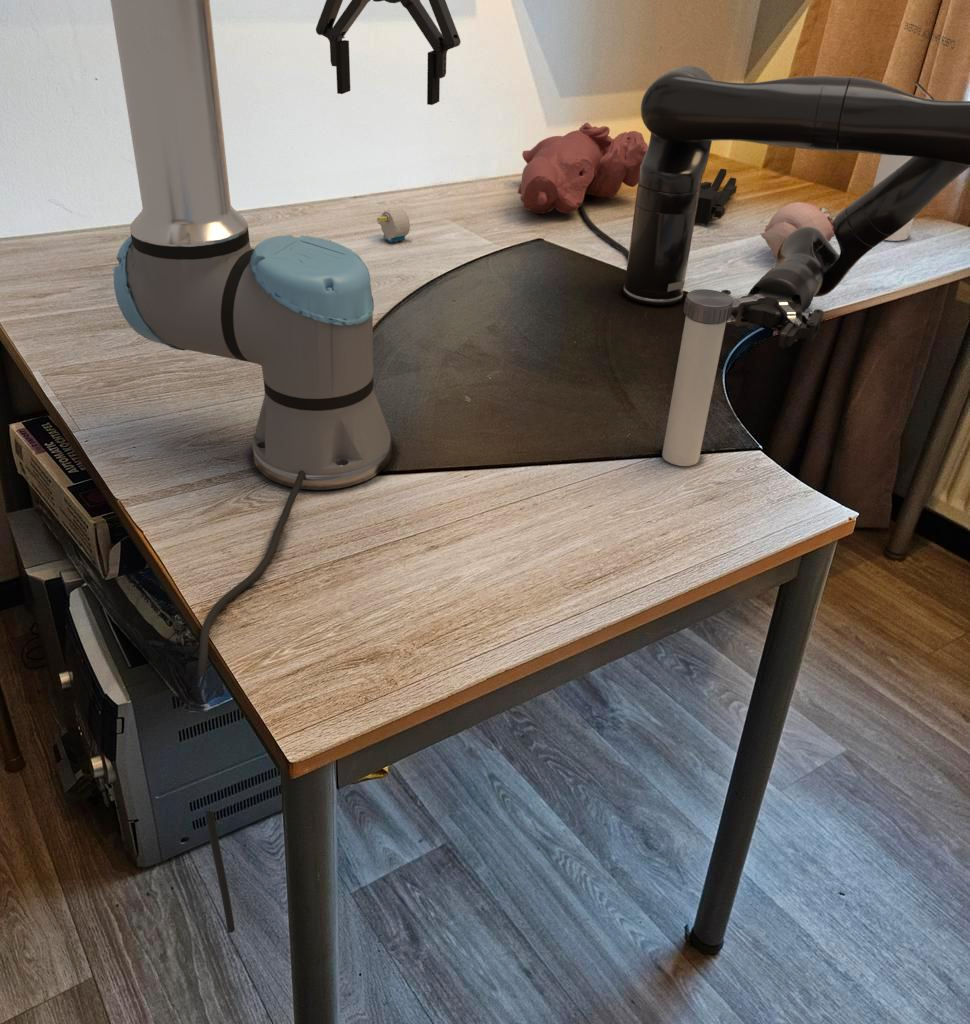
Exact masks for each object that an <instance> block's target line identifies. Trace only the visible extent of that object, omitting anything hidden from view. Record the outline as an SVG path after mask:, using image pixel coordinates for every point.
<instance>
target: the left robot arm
mask: <svg viewBox="0 0 970 1024" xmlns="http://www.w3.org/2000/svg"><path fill="white" fill-rule="evenodd" d="M343 1H344V0H325V3H324V5H323V8H322V11H321V13H320V16H319V19H318V22H317V24H316V27H315V33H316V34H317V35H318V36H323V37H324V38H326V39H327V40H328V42H329V54H330V56H329V57H330V65H331V67H335V70H336V71H335V72H336V94H339V95H343V94H346V93H349V92H351V67H350V66H351V63H350V41H349V40H345V38H346V36H345V35H347V33H348V31H349V30H350V29H351V27H352V26H353V24H354V23H355V21H356V20H357V19H358V18H359V16H360V14H361V13H362V12H363V10H364V9H365V8H366V6H367V5H368V4H369V3H370V2H371V1H372V2H377V3H380V2H384V1H385V2H387V3H389V4H398V3H400V4H401V5H402V7H403V8H405V9H406V10H407V12H408V13H409V15H410V17H411V18H412V20H413V21H414V22H415V24H416V26H417V27H418V29H419V31H420V32H421V33H422V35H423V36H424V38H425V39H426V40H427V43H428V44H429V46H430V47H431V48H432V50H431V51H428V52H427V74H426V75H427V79H426V80H427V85H426V87H427V88H426V105H429V106H433V105H435V104H438V103H440V93H441V92H440V91H441V90H440V89H441V87H440V86H441V83H440V81H441V79H443V78H445V77H446V74H447V54H448V51H449V50H451V49H454V48H457V47H459V46H460V45H461V42H462V41H461V38H460V35H459V33H458V30H457V27H456V24H455V22H454V19H453V17H452V14H451V11H450V9H449V7H448V4H447V1H446V0H428V2H429V5H430V8H431V10H432V13H433V15H434V18H435V21H436V23H437V25H438V26H437V25H436V23H435V22H434V20H433V19H432V17H431V15H429V13H428V11H427V9H426V8H425V6H424V5H423V3H422V2H421V0H351V1H350V2H349V3H348V5H347V6H346V8H345V9H344V11H343V12H342V14H341V15H340V16H339V18H338V19H337V17H338V14H339V12H340V9H341V6H342V4H343ZM110 6H111V12H112V19H113V20H112V21H113V27H114V31H115V39H116V45H117V52H118V59H119V64H120V70H121V77H122V84H123V90H124V96H125V97H124V98H125V103H126V110H127V116H128V122H129V123H128V124H129V129H130V136H131V142H132V149H133V156H134V161H135V169H136V175H137V180H138V187H139V194H140V199H141V206H142V210H141V211H140V212H139V214H138V215H137V216H136V217H135V218H134V220H133V221H132V222H131V224H130V225H129V232H130V236H128V237H127V238H126V239H125V240H124V241H123V243H122V244H121V246H120V247H119V249H118V252H117V256H116V260H117V261H118V265H117V266H114V268H113V288H114V294H115V298H116V302H117V305H118V307H119V310H120V312H121V315H122V316H123V318H124V319H125V321H126V323H127V324H128V325H129V327H130V328H131V329H133V331H134V332H136V333H137V334H138V335H139V336H141V337H143V338H144V339H145V340H148V341H150V342H154V343H157V344H161V345H164V346H167V347H169V348H171V349H174V350H178V351H191V352H197V353H202V354H207V355H211V356H216V357H222V358H226V359H231V360H236V361H242V362H248V363H251V364H252V363H253V364H257V365H259V366H261V370H262V379H263V388H264V390H263V391H264V396H263V400H262V404H261V408H260V412H259V415H258V419H257V423H256V427H255V430H254V434H253V438H252V455H253V460H254V464H255V467H256V468H257V470H258V471H259V472H260V473H261V474H262V475H263V476H265V477H266V478H268V479H269V480H271V481H273V482H275V483H278V484H280V485H283V486H286V487H290V488H291V490H290V493H289V495H288V498H287V500H286V503H285V505H284V507H283V509H282V512H281V515H280V517H279V519H278V521H277V524H276V526H275V529H274V531H273V534H272V537H271V541H270V543H269V546H268V548H267V551H266V553H265V555H264V557H263V558H262V560H261V561H260V562H259V564H258V565H257V567H256V568H255V569H254V570H253V571H252V572H251V573H250V574H249V575H248V576H247V577H245V578H244V579H243V580H242V581H241V582H239V583H238V584H237V585H235V586H234V587H233V588H232V589H230V590H229V591H228V592H226V593H225V594H224V595H222V597H220V599H218V601H216V602H215V604H214V605H213V607H211V609H210V610H209V612H208V614H207V615H206V618H205V619H204V622H203V624H202V626H201V631H200V633H199V634H200V635H199V648H198V650H199V651H198V660H197V668H196V669H197V670H196V676H197V677H198V678H203V677H205V676H206V674H207V668H208V659H209V658H208V657H209V644H210V643H209V642H210V632H211V628H212V626H213V624H214V622H215V619H216V618H217V617H218V615H219V613H220V612H221V611H222V610H223V609H224V607H226V606H227V604H228V603H230V602H231V601H232V600H233V599H235V598H236V597H237V596H238V595H239V594H241V593H242V592H244V591H245V590H246V589H247V588H249V587H250V586H251V585H252V584H254V583H255V582H256V581H257V580H258V579H259V577H260V576H261V575H262V574H264V572H265V570H266V569H267V568H268V566H269V564H270V563H271V562H272V561H271V560H272V559H273V557H274V555H275V553H276V550H277V548H278V545H279V541H280V539H281V536H282V533H283V531H284V528H285V525H286V523H287V520H288V518H289V516H290V513H291V510H292V508H293V505H294V503H295V501H296V498H297V496H298V493H299V491H300V489H301V490H312V491H314V490H315V491H323V490H327V491H328V490H337V489H342V488H348V487H351V486H355V485H358V484H361V483H363V482H366V481H368V480H370V479H373V478H374V477H375V476H377V475H378V474H380V473H381V472H382V471H383V470H384V469H385V468H386V467H387V466H388V464H389V463H390V461H391V458H392V434H391V432H390V430H389V427H388V424H387V422H386V419H385V417H384V413H383V411H382V408H381V406H380V403H379V400H378V398H377V395H376V393H375V385H374V320H373V319H374V318H373V317H374V315H373V314H374V308H375V301H374V297H373V292H372V283H371V275H370V270H369V267H368V266H367V264H366V263H365V262H364V260H363V259H362V258H361V257H360V256H359V254H357V253H356V252H355V251H353V250H352V249H351V248H348V247H346V246H345V245H343V244H340V243H338V242H335V241H331V240H329V239H324V238H322V237H317V236H310V235H300V236H299V237H296V236H293V235H288V234H287V235H279V236H273V237H269V238H265V239H264V240H262V241H260V242H259V243H258V244H257V245H255V247H254V248H253V247H251V242H250V241H251V240H250V233H249V223H248V220H247V219H246V218H245V216H243V215H242V214H240V213H239V212H238V211H237V210H236V209H234V207H233V206H232V203H231V194H230V185H229V183H230V182H229V175H228V174H229V173H228V165H227V156H226V155H227V154H226V146H225V137H224V129H223V128H224V127H223V118H222V117H223V115H222V106H221V97H220V88H219V78H218V67H217V59H216V57H217V56H216V49H215V40H214V30H213V29H214V28H213V21H212V20H213V19H212V11H211V2H210V0H110ZM336 19H337V21H336ZM204 814H205V819H206V825H207V830H208V836H209V841H210V846H211V851H212V856H213V861H214V866H215V871H216V876H217V880H218V886H219V890H220V895H221V900H222V906H223V911H224V918H225V923H226V929H227V932H228V933H229V934H232V933H234V932H235V930H236V927H235V921H234V915H233V913H234V912H233V908H232V902H231V897H230V896H231V895H230V891H229V887H228V881H227V877H226V875H227V874H226V871H225V866H224V861H223V856H222V851H221V846H220V840H219V835H218V830H217V822H216V816H215V811H211V810H205V811H204Z"/></svg>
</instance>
